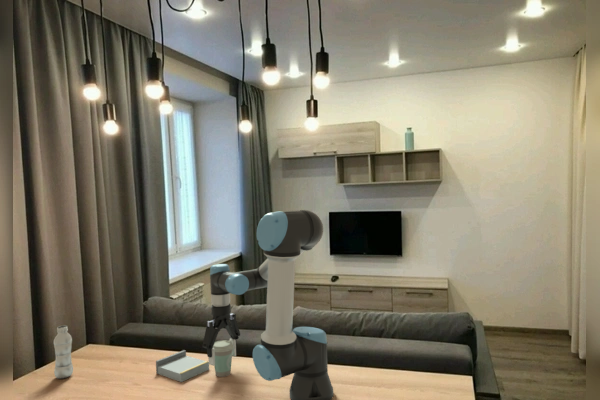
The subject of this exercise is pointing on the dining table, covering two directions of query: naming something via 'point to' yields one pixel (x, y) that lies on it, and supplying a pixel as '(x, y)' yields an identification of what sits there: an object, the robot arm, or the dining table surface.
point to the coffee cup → (223, 357)
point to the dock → (180, 366)
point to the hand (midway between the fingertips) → (222, 359)
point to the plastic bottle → (63, 353)
